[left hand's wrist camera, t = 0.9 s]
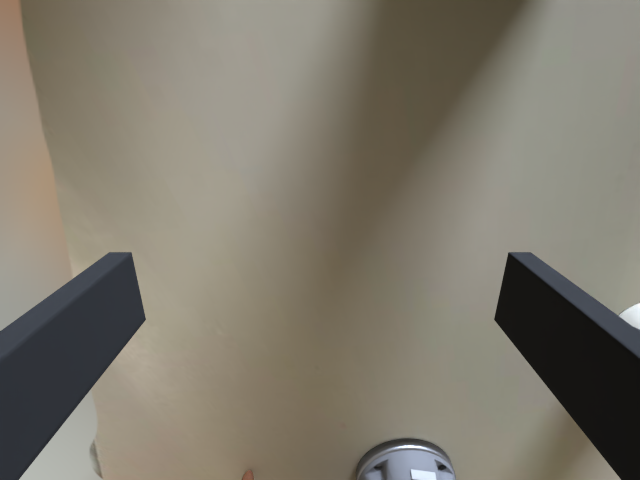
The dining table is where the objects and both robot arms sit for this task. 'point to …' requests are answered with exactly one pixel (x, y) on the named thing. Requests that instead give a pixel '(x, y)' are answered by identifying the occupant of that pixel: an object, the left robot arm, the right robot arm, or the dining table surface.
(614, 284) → the dining table surface
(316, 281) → the dining table surface
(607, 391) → the left robot arm
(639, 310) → the jar
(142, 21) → the dining table surface
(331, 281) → the dining table surface
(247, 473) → the brown ellipsoid
